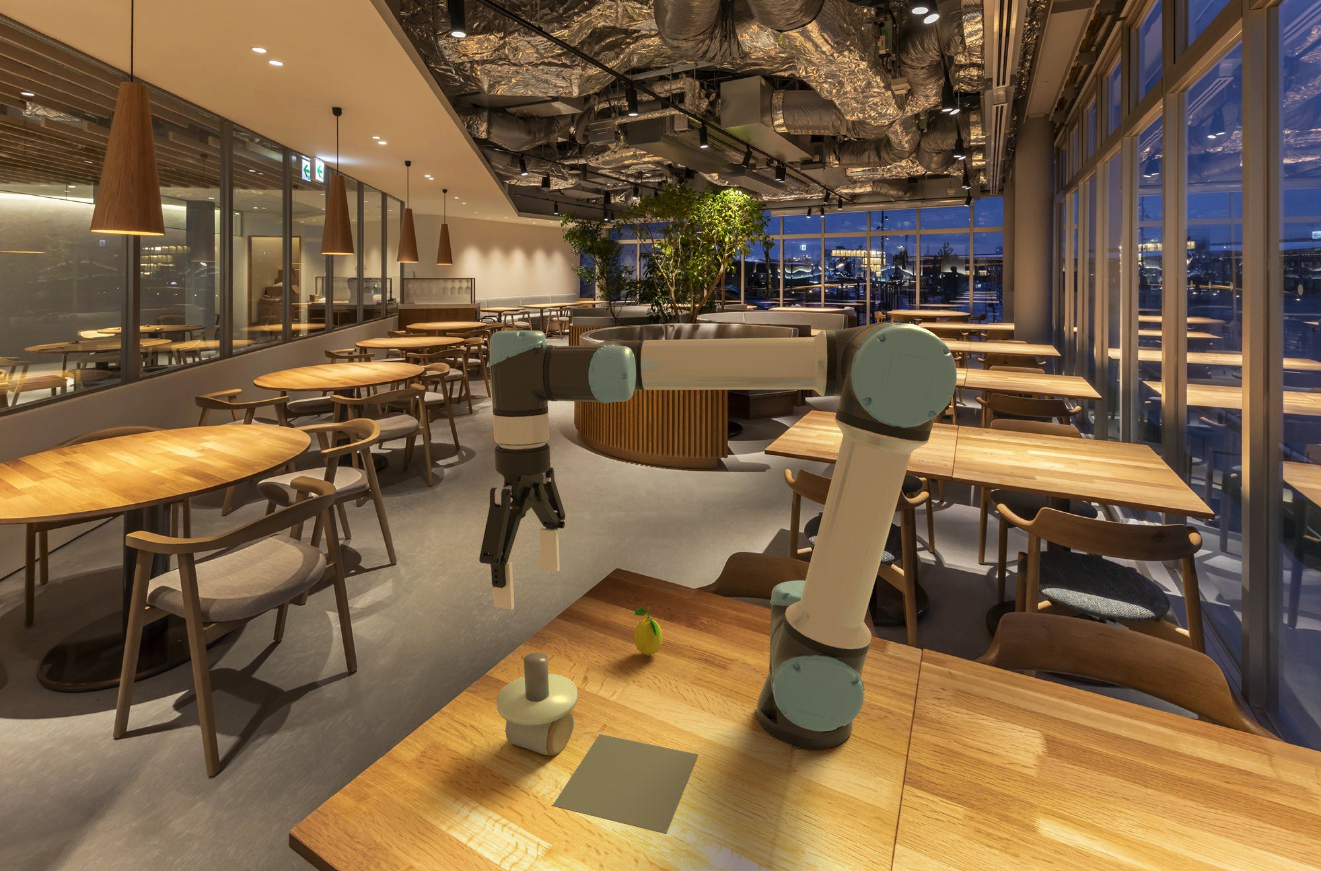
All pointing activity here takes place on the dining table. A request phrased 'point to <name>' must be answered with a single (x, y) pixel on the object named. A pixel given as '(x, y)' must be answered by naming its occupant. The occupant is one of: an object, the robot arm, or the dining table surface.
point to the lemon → (647, 634)
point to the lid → (536, 694)
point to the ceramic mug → (542, 735)
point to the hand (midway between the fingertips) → (528, 587)
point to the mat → (629, 783)
